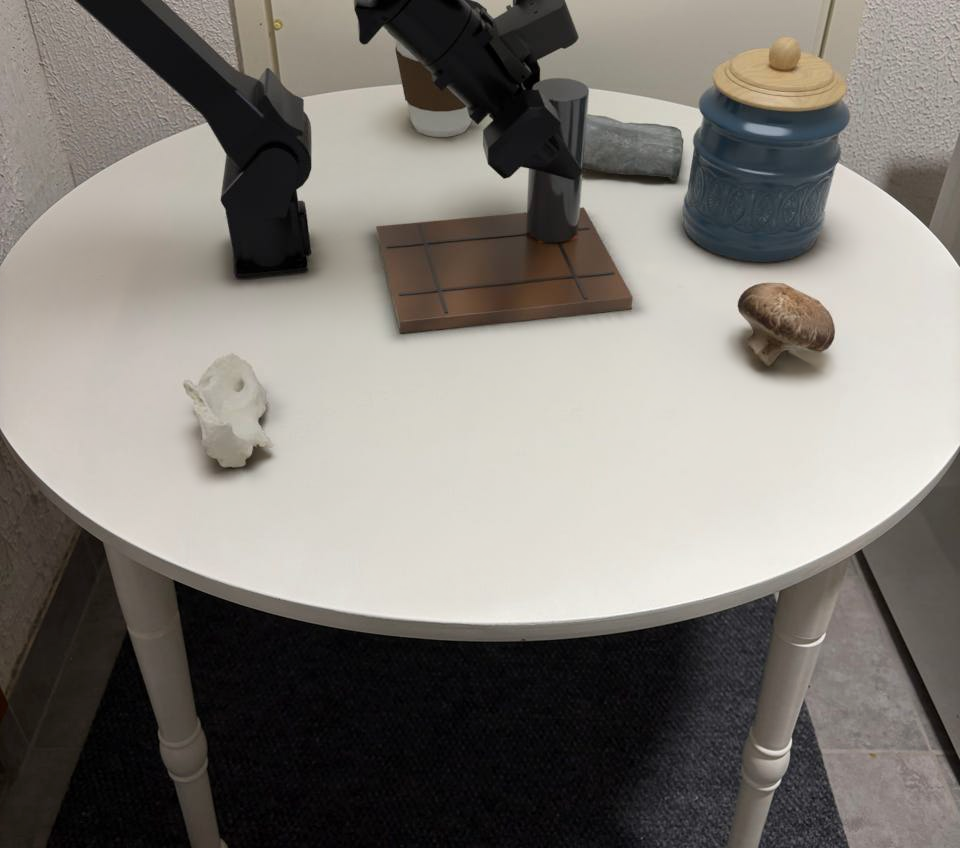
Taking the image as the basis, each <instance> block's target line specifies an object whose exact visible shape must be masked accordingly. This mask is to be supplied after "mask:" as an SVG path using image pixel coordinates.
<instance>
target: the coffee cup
mask: <svg viewBox="0 0 960 848" xmlns="http://www.w3.org/2000/svg"><path fill="white" fill-rule="evenodd" d="M464 1H465V2H466V3H467V4H468V5H469V6H470V7H471V8H472V9H473V10H475V8H476V7H477V8H478V9H479V10H480V11H481V9H482V8H483V9H484V10H485V11H486V12H487V13H488V9H487V8H486V7H484V6H483V5H482V4H480V2H477V1H475V0H464ZM387 33H388V34H389V35H390V36H391V37H392V38H394V37H393V36H392V35H391V34H390V33H389V32H388V31H387ZM394 42H395V55H396V60H397V65H398V70H399V75H400V80H401V84H402V91H403V95H404V100H405V101H406V102H407V108H408V113H409V118H410V122H411V124H412V125H413V127H414V129H415V130H416V131H417V133H420V134H422V135H424V136H427V137H432V138H433V137H434V138H450V137H455V136H458V135H461V134H463V133H465V132H466V131H467V130H468V129H469V127H470V125H471V123H472V121H473V120H472V119H471V118H470V117H469V113H468V110H467V106H466V105H465V104H464V103H463V102H462V101H461V100H460V99H459V98H458V97H456V96H455V95H454V94H453V93H452V92H451V91H450V90H449V89H448V88H447V87H446V88H445V89H444V90H443V91H442V90H440V89H439V88H438V87H437V86H436V85H435V84H434V83H433V79H432V74H431V72H430V71H429V70H428V69H427V68H426V67H425V66H424V65H423V64H422V63H421V62H420V61H419V60H417V59H416V58H415V57H414V56H413V55H412V54H411V53H410V52H409V51H408V50H407V49H406V48H405V47H404V46H403V45H402V44H401V43H400V42H399V41H397V40H396V39H395V38H394Z"/></svg>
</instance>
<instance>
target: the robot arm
mask: <svg viewBox="0 0 960 848" xmlns="http://www.w3.org/2000/svg"><path fill="white" fill-rule="evenodd" d="M74 2H76V3H77V4H78V5H79V6H80V7H81V8H83V10H84V11H86V12H87V13H88V14H89V15H90V16H91V17H92V18H93V19H95V21H96V22H98V23H99V24H100V25H101V26H103V28H105V29H106V30H107V31H108V32H109V33H110V34H111V35H112V36H113V37H115V38H116V39H117V41H119V42H120V43H121V44H122V45H124V46H125V47H126V48H127V49H128V50H129V51H130V52H131V53H132V54H134V56H136V57H137V58H138V60H140V61H141V62H142V63H144V64H145V65H146V66H147V68H149V69H150V70H151V71H153V72H154V73H155V74H156V75H157V76H158V77H159V78H160V79H161V80H162V81H163V82H165V83H166V84H167V85H168V86H169V87H170V88H171V89H172V90H174V92H176V93H177V94H178V95H179V96H180V97H181V98H182V99H184V100H185V102H187V103H188V104H189V105H190V106H191V107H192V108H193V109H194V110H196V111H197V112H198V113H199V114H200V115H201V116H202V117H203V118H204V120H205V121H206V123H207V124H208V126H209V128H210V129H211V131H212V133H213V135H214V136H215V138H216V139H217V142H218V143H219V144H220V146H221V148H222V150H223V151H224V153H225V160H224V170H223V176H222V177H223V179H222V186H221V195H220V203H221V205H222V206H223V208H224V210H225V216H226V223H227V228H228V232H229V238H230V244H231V245H230V246H231V250H232V256H233V257H232V261H233V262H232V263H233V274H234V278H235V279H250V278H261V277H270V276H271V277H272V276H281V275H282V276H283V275H290V274H291V275H292V274H300V273H302V274H303V273H306V272H308V271H309V264H308V257H310V256H311V255H312V247H311V238H310V229H309V223H308V214H307V207H306V202H305V201H304V200H299V198H298V191H297V190H299V189H300V188H302V187H303V186H304V184H305V183H306V182H307V181H308V179H309V178H310V174H311V172H312V169H313V168H312V165H313V164H312V125H311V121H310V118H309V116H308V114H307V113H306V112H305V110H304V109H305V107H304V106H305V99H304V98H302V97H300V96H298V95H296V94H293V92H291V91H289V90H288V89H287V88H286V87H285V86H284V84H283V83H282V82H281V80H280V79H279V77H278V76H277V75H276V73H275V72H274V71H272V70H271V68H268V67H267V68H265V69H264V70H263V72H262V73H261V75H260V77H259V79H258V78H255V77H252V76H251V75H248V74H245V73H243V72H241V71H239V70H238V69H236V68H234V67H233V66H232V65H231V64H230V63H229V62H228V61H227V60H226V59H225V58H224V57H223V56H222V55H220V54H219V52H218V51H216V50H215V49H214V48H213V47H212V46H211V45H210V43H208V42H207V41H206V40H205V39H204V38H203V37H201V36H200V35H199V34H198V33H197V32H196V31H195V30H194V29H193V28H192V27H191V26H190V25H189V24H188V22H185V20H184V19H182V17H181V16H180V15H179V14H178V13H176V11H174V9H172V8H171V7H170V6H169V5H168V4H167V3H166V2H165V1H164V0H74ZM505 8H506V11H504V12H503V13H501V14H500V15H498V16H496V17H492V15H490V14H489V12H488V11H487V12H486V11H485V10H484V9H483V8H482V9H481V11H480V10H479V9H478V8H477V7H476V8H475V10H473V9H472V8H471V7H470V6H469V5H468V4H467V3H466V2H465V1H464V0H353V9H354V13H355V15H356V18H357V30H358V31H357V33H358V41H359V43H360V44H361V45H363V46H364V45H367V44H369V43H370V42H371V40H372V39H373V38H374V37H375V36H376V35H377V34H378V32H380V30H381V29H382V28H383V29H384V30H386V31H387V33H388V32H389V33H390V34H391V35H392V36H393V37H392V36H391V35H390V34H389V33H388V34H389V35H390V36H391V37H392V38H393V39H394V40H395V39H396V40H397V41H399V42H400V43H401V44H402V45H403V46H404V47H405V48H406V49H407V50H408V51H409V52H410V53H411V54H412V55H413V56H414V57H415V58H416V59H417V60H419V61H420V62H421V63H422V64H423V65H424V66H425V67H426V68H427V69H428V70H429V71H430V72H431V74H432V79H433V83H434V84H435V85H436V86H437V87H438V88H439V89H440V90H442V91H443V90H444V89H445V88H446V87H447V88H448V89H449V90H450V91H451V92H452V93H453V94H454V95H455V96H456V97H458V98H459V99H460V100H461V101H462V102H463V103H464V104H465V105H466V106H467V110H468V113H469V117H470V118H471V119H472V121H473V122H474V123H475V124H476V125H479V124H481V122H482V121H483V120H484V119H485V118H486V117H487V116H488V117H489V118H490V119H491V120H492V121H490V123H489V124H487V126H485V127H484V128H483V130H482V149H483V152H484V155H485V159H486V163H487V165H488V166H489V167H490V168H491V169H492V170H493V171H495V173H496V174H498V175H499V176H500V178H502V179H503V180H506V179H508V178H511V177H512V176H513V175H514V174H515V173H516V172H517V171H518V170H519V169H520V168H525V169H528V170H529V169H533V170H537V171H542V172H545V173H549V174H552V175H556V176H560V177H563V178H567V179H570V180H576V179H577V178H578V177H579V176H580V175H581V174H582V173H583V174H584V170H583V171H582V168H581V167H580V165H579V164H578V162H577V161H576V159H575V158H574V156H573V155H572V153H571V152H570V150H569V149H568V147H567V146H566V145H565V143H564V142H563V140H562V139H561V137H560V136H559V134H558V133H557V131H558V129H559V127H560V125H561V121H560V119H559V116H558V111H557V109H556V106H555V104H554V101H553V99H551V100H550V101H549V100H548V99H547V98H546V97H545V96H544V95H543V94H542V93H541V91H540V90H532V87H533V85H534V84H535V83H537V82H539V81H541V67H540V64H539V62H538V60H540V59H542V58H545V57H546V56H548V55H550V54H552V53H554V52H556V51H558V50H560V49H564V50H565V49H568V48H569V47H572V46H573V45H574V44H576V43H577V42H578V40H579V34H578V31H577V28H576V25H575V23H574V21H573V18H572V16H571V13H570V10H569V7H568V5H567V2H566V0H512V6H511V4H508V5H506V6H505Z"/></svg>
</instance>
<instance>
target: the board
mask: <svg viewBox="0 0 960 848" xmlns="http://www.w3.org/2000/svg"><path fill="white" fill-rule="evenodd" d="M526 222H527V212H520V213H517V212H515V213H506V214H496V215H485V216H473V217H464V218H463V217H462V218H452V219H441V220H440V219H439V220H430V221H419V222H408V223H397V224H387V225H386V224H385V225H377V226H376V227H375V229H376V230H375V231H376V239H377V243H378V247H379V252H380V256H381V260H382V264H383V269H384V272H385V276H386V277H385V278H386V281H387V285H388V289H389V292H390V297H391V301H392V305H393V309H394V313H395V318H396V321H397V326H398V330H399V334H409V333H419V332H429V331H436V330H437V331H438V330H447V329H457V328H466V327H474V326H484V325H492V324H493V325H494V324H502V323H503V324H505V323H512V322H513V323H514V322H521V321H532V320H540V319H541V320H542V319H550V318H560V317H568V316H569V317H570V316H578V315H587V314H597V313H598V314H599V313H606V312H607V313H608V312H616V311H625V310H632V305H633V299H634V297H633V295H632V293H631V291H630V289H629V288H628V285H627V284H626V282H625V280H624V278H623V277H622V274H621V273H620V270H619V269H618V267H617V266H616V264H615V262H614V260H613V258H612V257H611V255H610V253H609V251H608V249H607V247H606V246H605V243H604V242H603V240H602V238H601V236H600V235H599V233H598V231H597V229H596V227H595V226H594V224H593V222H592V220H591V218H590V216H589V214H588V212H587V211H586V209H585V207H580V214H579V227H578V233H577V235H576V236H575V237H574V238H572V239H570V240H567V241H564V242H556V243H552V242H543V241H540V240H537V239H535V238H533V237H531V236H530V235H529V234H528V233H527V230H526Z"/></svg>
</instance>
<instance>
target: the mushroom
mask: <svg viewBox="0 0 960 848" xmlns="http://www.w3.org/2000/svg"><path fill="white" fill-rule="evenodd" d="M737 309H738V310H737V311H738V313H739V314H740V315H741V316H742V317H743V319H745V321H746V322H747V323H748V324H749V326H750V328H751V330H752V334H751V335H750V336H749V337H748V339H747V344H748V345H749V347H750V349H751V350H752V352H753V353H754V354H755V355H756V356H757V357H758V359H759V360H761V362H762V363H764V364H765V365H766V366H768V367H771V366H772V364H773V363H774V362H775V361H776V359H777V358H778V357H779V356H780V355H781V354H782V353H783V352H785V351H788V350H803V351H808V352H813V353H823V352H825V351H827V350H828V349H829V348H830V347H831V346H832V344H833V342H834V340H835V335H836V329H835V323H834V320H833V317H832V315H831V313H830V311H829V310H828V309H827V308H826V307H825V306H824V305H823V304H822V302H821V301H819V300H818V299H817V298H814V297H812V296H810V295H808V294H806V293H804V292H802V291H800V290H798V289H796V288H794V287H792V286H790V285H789V284H786V283H784V282H763V283H758V284H754V285H752V286H750V287H748V288H747V289H745V290H744V291H743V292H742V293H741V294H740V296H739V297H738V301H737Z"/></svg>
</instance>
